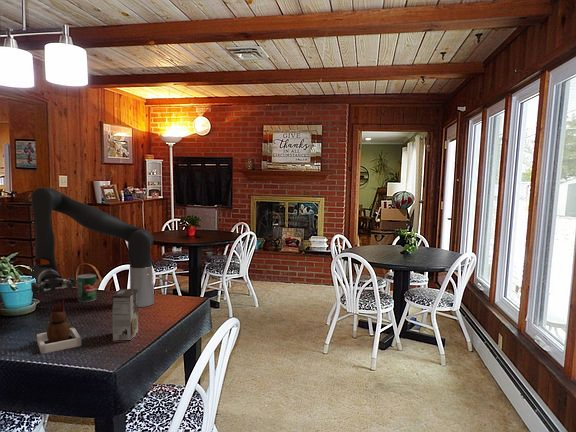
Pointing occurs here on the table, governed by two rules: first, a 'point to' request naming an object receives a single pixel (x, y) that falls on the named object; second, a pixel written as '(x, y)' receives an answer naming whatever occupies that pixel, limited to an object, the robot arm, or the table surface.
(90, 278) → the canned tomato
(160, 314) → the table surface
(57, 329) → the wooden figurine
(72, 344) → the frame
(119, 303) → the coffee box
